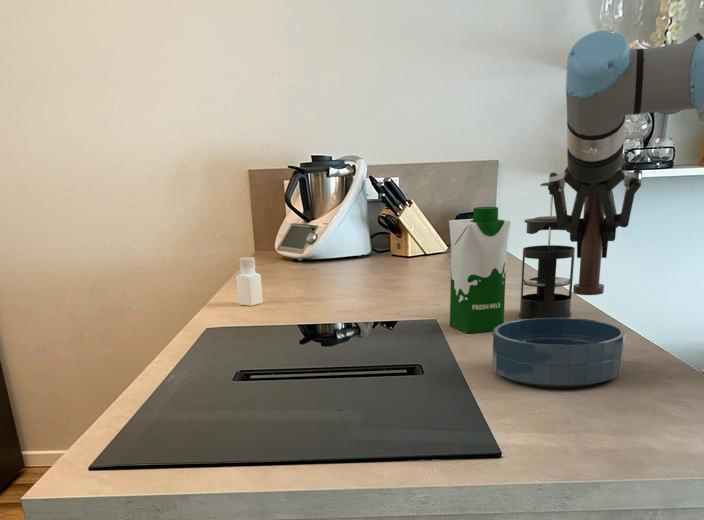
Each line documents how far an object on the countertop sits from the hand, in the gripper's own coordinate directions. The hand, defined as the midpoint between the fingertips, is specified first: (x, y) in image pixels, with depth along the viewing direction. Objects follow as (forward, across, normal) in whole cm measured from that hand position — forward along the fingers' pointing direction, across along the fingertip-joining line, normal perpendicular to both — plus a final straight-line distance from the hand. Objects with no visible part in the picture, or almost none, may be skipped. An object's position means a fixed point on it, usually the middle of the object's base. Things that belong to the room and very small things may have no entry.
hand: (592, 251), depth 130 cm
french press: (+15, -8, -3) cm, 17 cm away
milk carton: (+6, -18, -12) cm, 23 cm away
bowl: (-13, -2, -31) cm, 34 cm away
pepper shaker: (+16, -69, -1) cm, 71 cm away
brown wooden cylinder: (+2, 0, -7) cm, 7 cm away
